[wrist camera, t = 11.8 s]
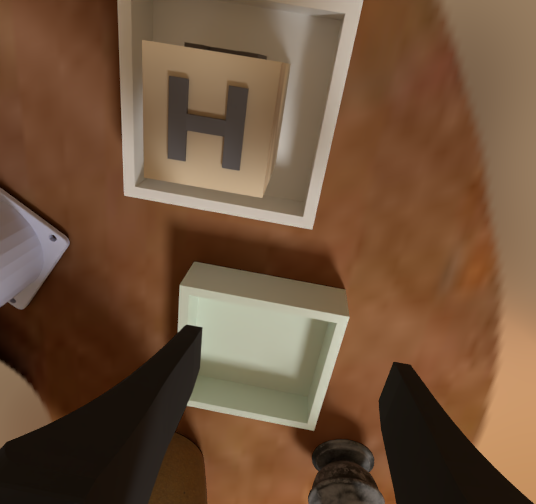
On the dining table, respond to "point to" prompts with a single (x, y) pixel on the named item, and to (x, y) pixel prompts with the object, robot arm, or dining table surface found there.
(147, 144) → the letter block
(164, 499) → the plant pot
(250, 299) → the sage tray
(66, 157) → the dining table surface
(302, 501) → the dining table surface
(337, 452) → the salt shaker
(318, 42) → the white tray
